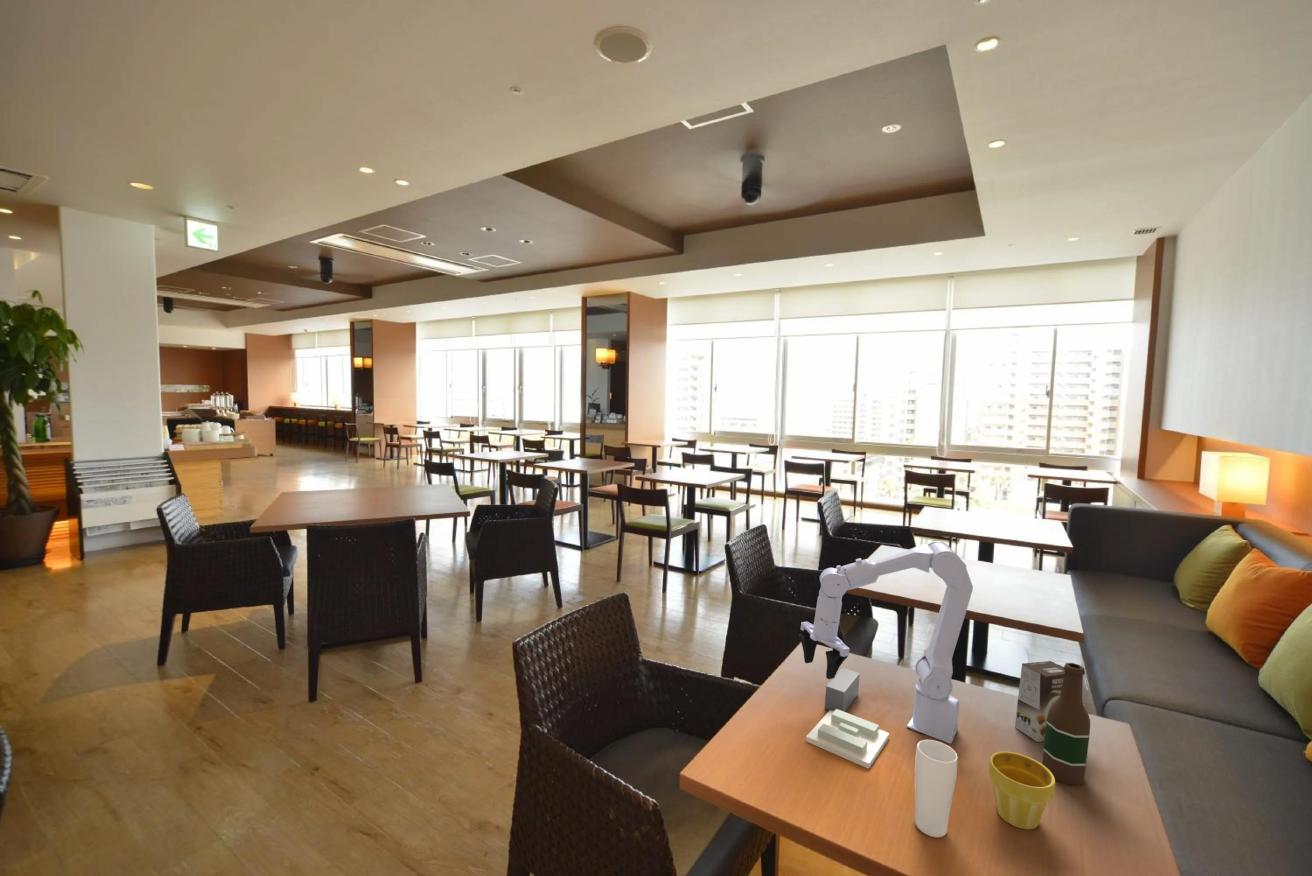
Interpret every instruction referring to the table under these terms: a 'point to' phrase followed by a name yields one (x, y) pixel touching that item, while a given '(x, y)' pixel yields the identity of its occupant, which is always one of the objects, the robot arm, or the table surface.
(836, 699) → the grey upright block
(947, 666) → the robot arm
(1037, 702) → the coffee box
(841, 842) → the table surface
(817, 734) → the stand
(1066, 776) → the beer bottle
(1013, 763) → the plant pot
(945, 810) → the drinking glass
